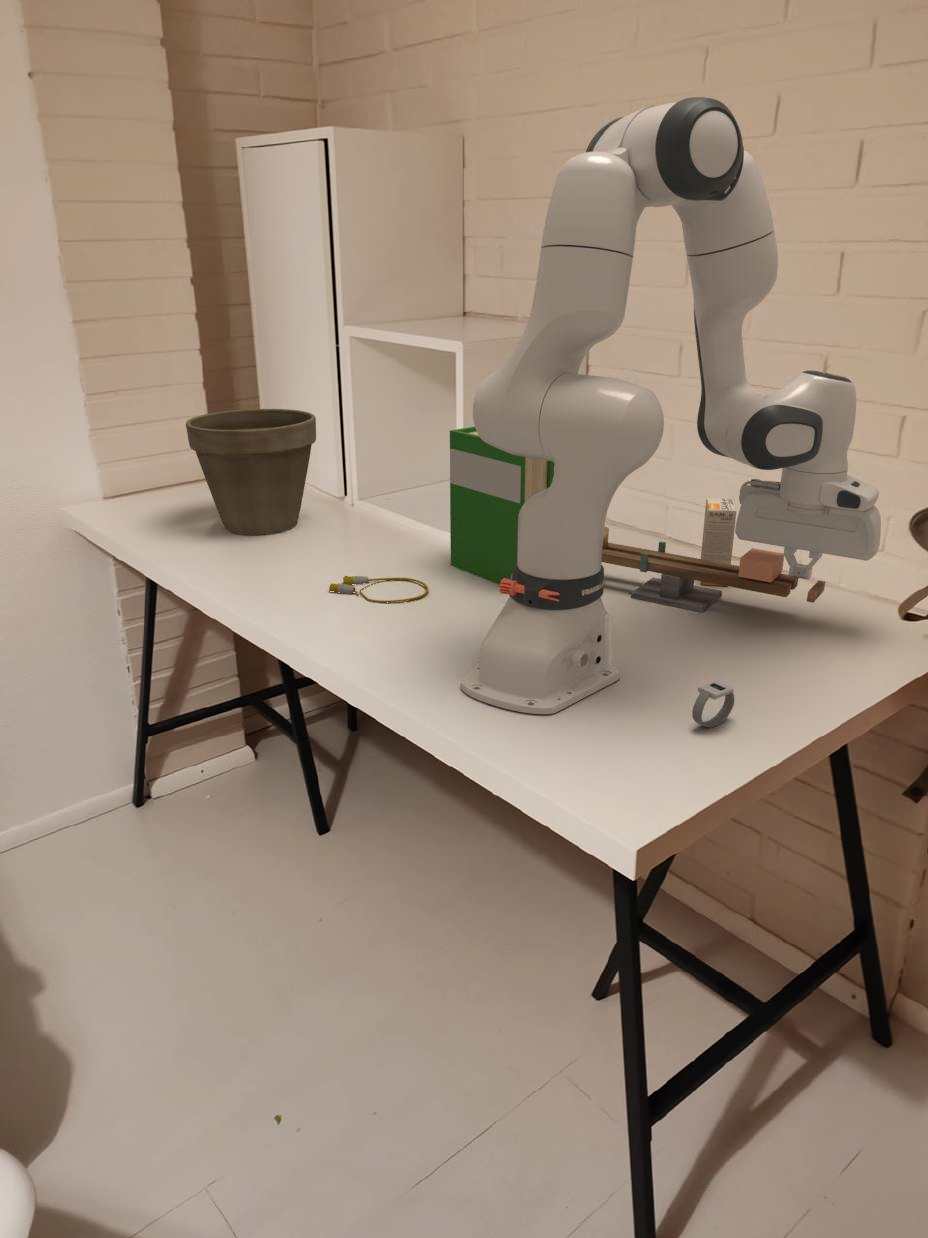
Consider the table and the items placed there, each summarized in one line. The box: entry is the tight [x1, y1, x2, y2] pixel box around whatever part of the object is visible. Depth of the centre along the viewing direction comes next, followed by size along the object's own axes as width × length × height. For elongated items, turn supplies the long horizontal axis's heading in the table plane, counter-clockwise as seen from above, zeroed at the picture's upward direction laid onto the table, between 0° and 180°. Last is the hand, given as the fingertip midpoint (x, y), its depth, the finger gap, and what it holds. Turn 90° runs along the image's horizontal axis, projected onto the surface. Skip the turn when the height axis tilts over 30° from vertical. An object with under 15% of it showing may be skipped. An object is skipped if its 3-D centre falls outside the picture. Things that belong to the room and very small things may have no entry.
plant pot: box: [185, 408, 317, 536], centre depth 190 cm, size 25×25×22 cm
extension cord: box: [328, 575, 430, 604], centre depth 159 cm, size 12×16×2 cm
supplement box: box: [700, 497, 737, 587], centre depth 162 cm, size 8×5×13 cm, turn 168°
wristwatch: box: [691, 680, 735, 728], centre depth 115 cm, size 6×3×5 cm, turn 126°
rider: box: [738, 547, 785, 582], centre depth 147 cm, size 6×5×5 cm
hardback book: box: [449, 426, 555, 586], centre depth 162 cm, size 18×7×24 cm, turn 40°
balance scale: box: [601, 526, 826, 613], centre depth 154 cm, size 9×44×9 cm, turn 57°
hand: (799, 577), depth 144 cm, fingers closed
